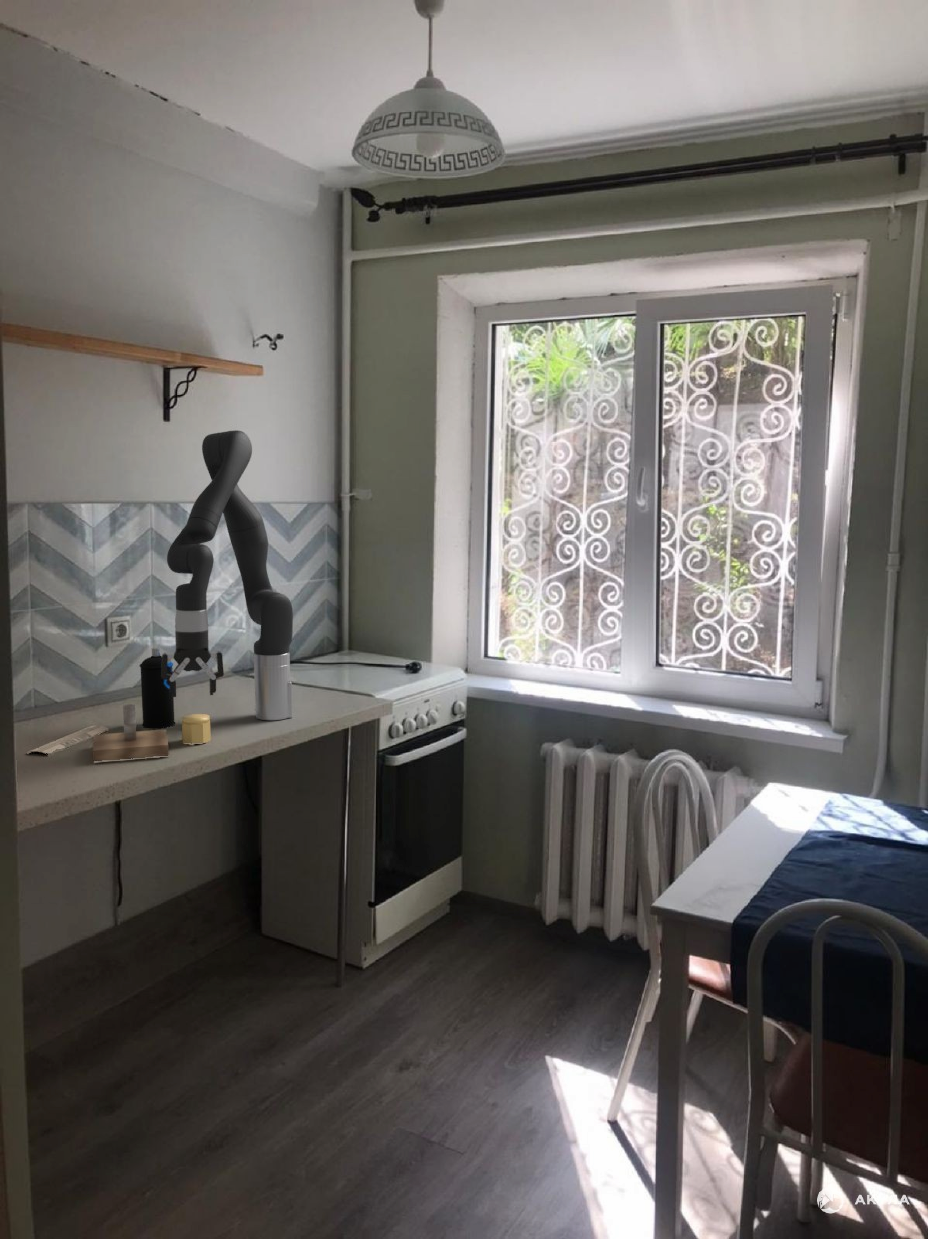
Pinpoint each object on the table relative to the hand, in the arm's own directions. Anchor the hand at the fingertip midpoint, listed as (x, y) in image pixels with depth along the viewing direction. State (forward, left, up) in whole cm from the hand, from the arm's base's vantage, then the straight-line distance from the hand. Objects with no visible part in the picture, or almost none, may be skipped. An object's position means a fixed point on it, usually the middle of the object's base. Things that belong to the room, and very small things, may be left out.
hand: (193, 695), depth 237 cm
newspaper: (+28, -8, -12) cm, 32 cm away
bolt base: (+15, +5, -11) cm, 19 cm away
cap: (0, 0, -11) cm, 11 cm away
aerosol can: (+8, -19, -12) cm, 23 cm away
